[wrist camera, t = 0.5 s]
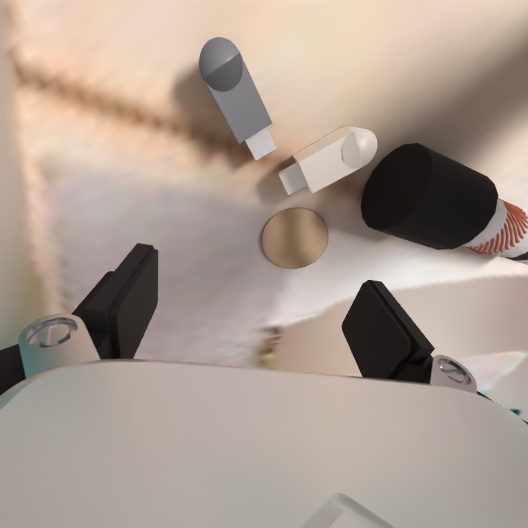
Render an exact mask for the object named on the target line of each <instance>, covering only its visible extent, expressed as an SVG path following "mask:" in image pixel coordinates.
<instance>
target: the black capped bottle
mask: <svg viewBox="0 0 528 528" xmlns="http://www.w3.org/2000/svg"><path fill="white" fill-rule="evenodd" d="M361 211H362V218H363V220H364V221H365V223H366V224H367V226H368V227H370V228H372V229H375V230H378V231H381V232H384V233H387V234H390V235H393V236H396V237H400V238H403V239H406V240H409V241H412V242H415V243H418V244H421V245H424V246H428V247H431V248H434V249H437V250H442V249H454V248H457V247H459V246H465V247H468V248H469V249H471V250H473V251H475V252H477V253H479V254H482V253H485V254H486V253H489V254H493V255H496V256H500V257H505V258H508V259H511V260H514V261H518V262H521V263H523V264H528V214H526V213H525V212H523V210H522V209H520V208H518V207H517V206H514V205H512V204H510V203H508V202H505V201H503V200H501V199H499V198H498V193H497V190H496V187H495V184H494V183H493V182H492V181H491V180H490V179H489V178H488V177H487V176H485V175H483V174H481V173H479V172H477V171H475V170H472V169H470V168H468V167H466V166H464V165H462V164H460V163H458V162H456V161H454V160H452V159H450V158H447V157H445V156H443V155H441V154H439V153H437V152H435V151H433V150H431V149H429V148H427V147H425V146H422V145H420V144H418V143H414V144H405V145H403V146H401V147H399V148H397V149H395V150H394V151H392V152H391V153H390V154H388V155H387V156H386V157H385V158H384V159H383V160H382V161H381V162H380V164H379V165H378V166H377V167H376V168H375V170H374V171H373V173H372V175H371V176H370V178H369V180H368V182H367V184H366V186H365V189H364V192H363V195H362V202H361Z"/></svg>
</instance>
